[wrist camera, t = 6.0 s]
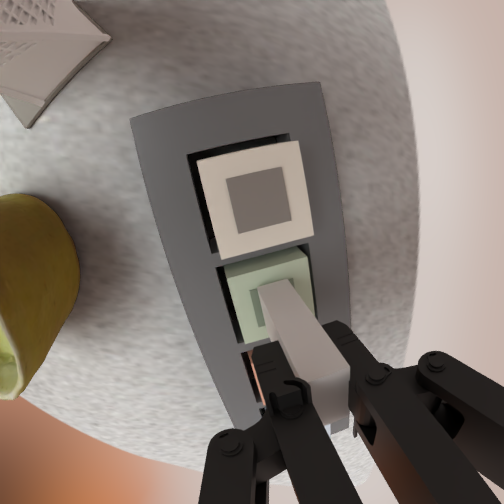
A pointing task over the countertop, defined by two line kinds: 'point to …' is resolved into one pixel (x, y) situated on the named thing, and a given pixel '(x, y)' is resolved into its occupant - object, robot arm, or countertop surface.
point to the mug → (32, 287)
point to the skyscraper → (43, 51)
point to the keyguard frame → (206, 250)
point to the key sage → (261, 273)
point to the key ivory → (256, 197)
